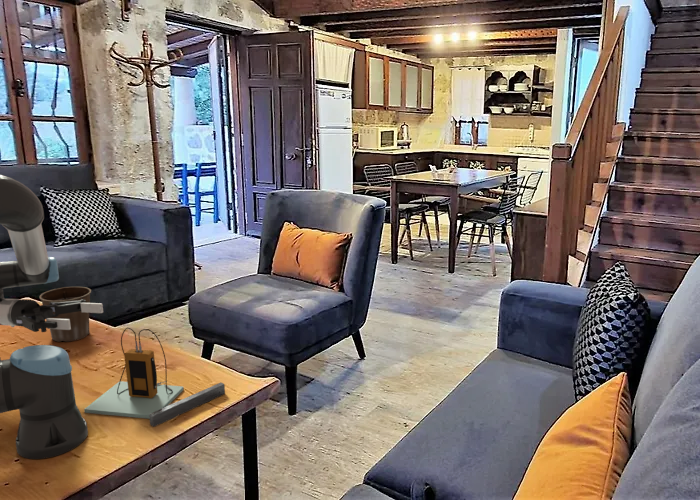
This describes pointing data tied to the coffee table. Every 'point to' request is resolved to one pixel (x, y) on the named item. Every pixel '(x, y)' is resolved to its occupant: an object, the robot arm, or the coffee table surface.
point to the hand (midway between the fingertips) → (86, 316)
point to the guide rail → (186, 404)
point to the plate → (132, 401)
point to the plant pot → (77, 319)
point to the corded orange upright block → (141, 371)
